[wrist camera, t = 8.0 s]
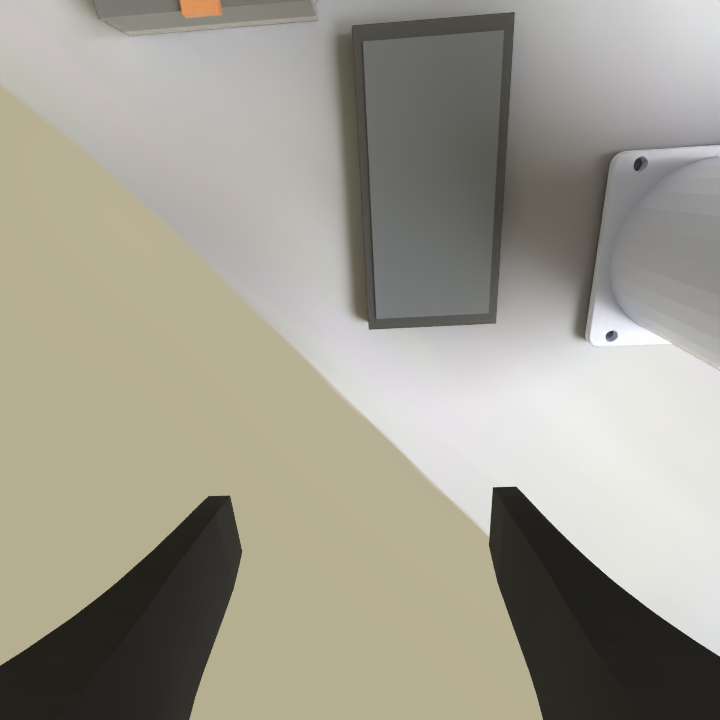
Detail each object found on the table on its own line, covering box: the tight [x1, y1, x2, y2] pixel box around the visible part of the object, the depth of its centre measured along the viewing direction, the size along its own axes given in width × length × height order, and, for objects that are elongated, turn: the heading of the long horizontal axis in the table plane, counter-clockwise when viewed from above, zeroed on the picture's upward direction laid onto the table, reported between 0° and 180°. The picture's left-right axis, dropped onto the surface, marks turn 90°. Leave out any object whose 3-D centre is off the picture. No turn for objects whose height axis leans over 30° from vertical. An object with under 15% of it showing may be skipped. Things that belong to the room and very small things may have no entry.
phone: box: [352, 12, 515, 329], centre depth 17 cm, size 6×11×1 cm, turn 3°
